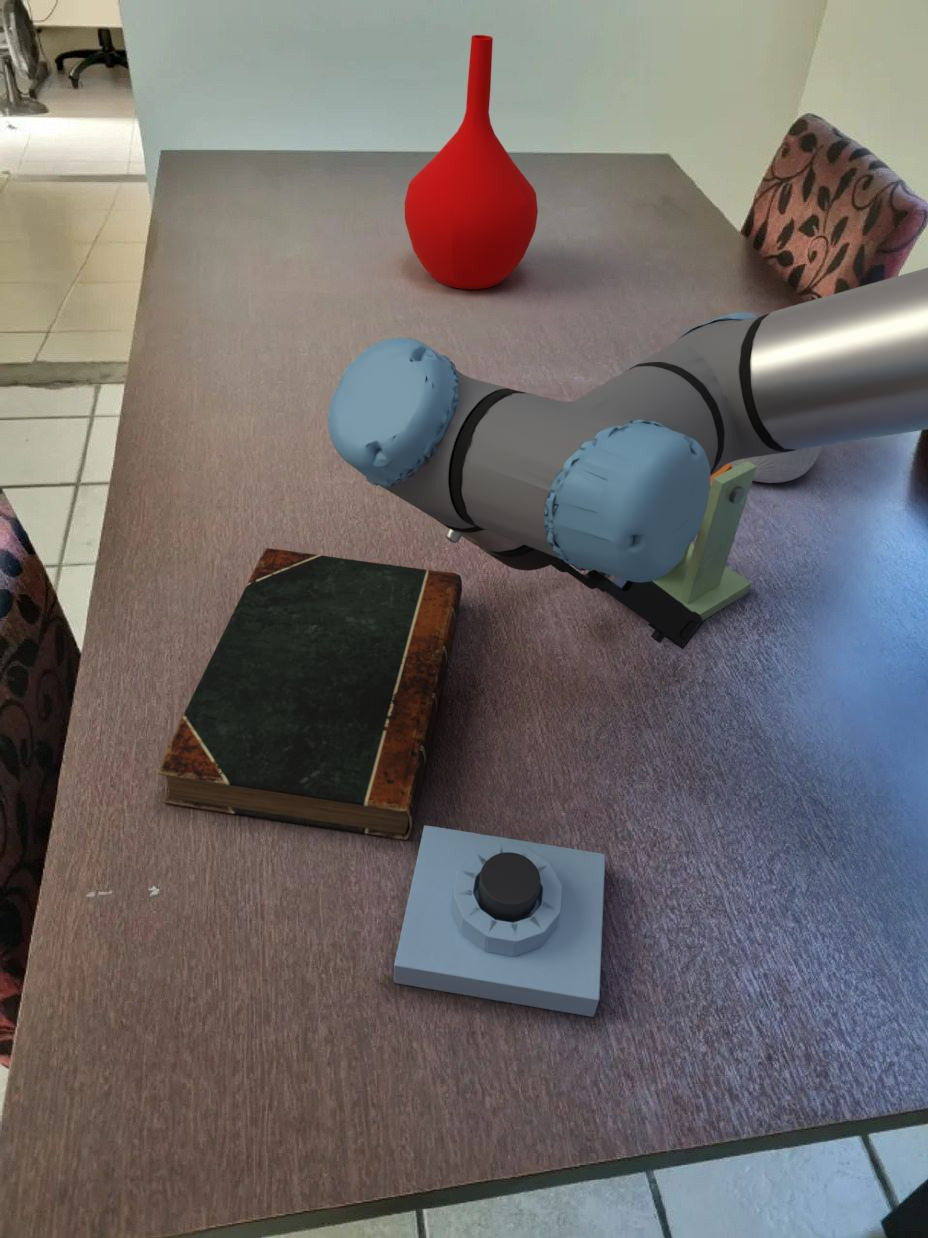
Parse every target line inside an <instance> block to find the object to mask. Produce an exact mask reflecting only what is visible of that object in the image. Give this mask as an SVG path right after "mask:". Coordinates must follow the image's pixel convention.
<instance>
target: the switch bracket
mask: <svg viewBox="0 0 928 1238" xmlns="http://www.w3.org/2000/svg"><path fill="white" fill-rule="evenodd" d="M756 468H757V466H756V465H754V464H752V463H750V462H749V461H746V462H744V463H742V464H740V465H738V466H736V467H734V468H732V469H730V470H728V471H726V472H724V473H722V474H720V475H718V476H716V477H714V478H713V481H712V485H711V488H710V492H709V498H708V504H707V509H706V512H705V515H704V518H703V521H702V524H701V527H700V529H699V531H698V534H697V536H696V538H695V540H694V541H695V542H694V543H693V542H691V543H689V544H688V546H687V547H686V550H685V553H684V556H683V558H682V560H681V561H680V562H679V563H678V564H677V565H676V566H675V567H674V568H673V569H672V570H671V571H670V572H668V573H667V574H666V575H664V576H662V577H661V578H658V579H656V580H653V582H654V583H655V584H657V585H658V586H659V587H661V588H662V589H663V590H665V591H666V592H667V593H669V594H670V595H671V596H672V597H674V598H675V599H676V600H678V601H680V602H681V603H683V604H684V606H686V607H687V608H688V609H689V610H691V611H692V612H694V611H695V612H696V613H698V614H699V615H700V617H701V618H702V620H703V621H705V620H707V619H709V618H710V617H711V616H713V615H715V614H716V613H718V612H719V611H721V610H723V609H724V608H726V607H727V606H730V605H732V603H735V602H736V601H738V600H739V599H741V598H743V597H744V596H745V595H748V594H749V593H750V591H751V590H750V589H751V587H752V585H753V582H752V581H751V580H749V579H747V578H746V577H744V576H742V575H741V574H739V573H738V572H736V571H735V570H733V569H731V568H730V567H729V566H727V562H728V560H729V557H730V554H731V550H732V546H733V543H734V541H735V537H736V534H737V530H738V528H739V525H740V521H741V518H742V515H743V512H744V509H745V506H746V502H747V499H748V497H749V492H750V490H751V486H752V483H753V481H752V480H753V477H754V474H755V471H756Z"/></svg>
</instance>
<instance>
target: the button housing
mask: <svg viewBox="0 0 928 1238" xmlns="http://www.w3.org/2000/svg"><path fill="white" fill-rule="evenodd" d="M505 852H512V853H517V854H520V855H523V856H525V857H526V858H528V859H529V860H531V861H532V862H533V863H534V865H535V866H536V868H537V869H538V871H539V874H540V888H539V893H538V898H537V902H536V905H535V907H534V908H533V910H532V911H531V912H530V913H529V914H527V915H526V916H524V917H522V918H520V919H516V920H504V919H500V918H497V917H495V916H493V915H491V914H490V913H489V912H488V911H487V910H486V909H485V908H484V907H483V905H482V904H481V902H480V899H479V895H478V889H479V881H480V873H481V869H482V867H483V865H484V864H485V862H486V861H487V860H488V859H489V858H491V857H492V856H494V855H496V854H499V853H505ZM605 872H606V854H605V853H603V852H597V851H590V850H584V849H577V848H571V847H564V846H558V845H552V844H545V843H539V842H535V841H534V842H533V841H527V840H520V839H514V838H508V837H502V836H494V835H490V834H483V833H477V832H470V831H464V830H458V829H451V828H445V827H440V826H432V825H426V824H425V825H423V829H422V833H421V838H420V844H419V847H418V853H417V857H416V862H415V866H414V870H413V876H412V880H411V884H410V889H409V894H408V899H407V903H406V908H405V912H404V916H403V921H402V926H401V931H400V935H399V940H398V944H397V945H398V946H397V948H396V954H395V959H394V963H393V983H394V984H399V985H404V986H410V987H416V988H421V989H422V988H423V989H426V990H433V991H439V992H445V993H450V994H451V993H452V994H456V995H463V996H468V997H475V998H480V999H486V1000H490V1001H491V1000H493V1001H497V1002H503V1003H509V1004H515V1005H520V1006H521V1005H522V1006H527V1007H532V1008H539V1009H543V1010H544V1009H545V1010H551V1011H555V1012H562V1013H567V1014H572V1015H580V1016H585V1017H590V1018H591V1017H592V1018H594V1017H595V1014H596V1011H597V1008H598V1005H599V1001H600V993H601V970H602V968H601V967H602V966H601V965H602V949H603V946H602V945H603V944H602V943H603V926H604V925H603V923H604V922H603V921H604V899H605V875H606V874H605Z"/></svg>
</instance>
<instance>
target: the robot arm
mask: <svg viewBox="0 0 928 1238" xmlns="http://www.w3.org/2000/svg"><path fill="white" fill-rule="evenodd" d="M338 383H339V384H338V385H337V386H336V388H335V391H334V393H333V394H332V396H331V397H330V398H331V399H330V403H329V408H328V414H327V424H328V433H329V437H330V440H331V443H332V446H333V447H334V449H335V451H336V452H337V454H338V455H339V456H340V458H341V459H342V460H343V461H344V462H345V463H347V464H348V465H350V466H351V467H352V468H354V469H355V470H356V471H358V473H360V474H361V475H363V476H364V477H365V478H366V481H367V482H368V483H369V484H371V485H375V486H376V487H378V486H379V487H381V488H383V489H385V490H386V491H387V492H389V493H391V494H393V495H394V496H396V497H398V498H399V499H401V500H403V501H405V502H406V503H408V504H409V505H411V506H413V507H415V508H416V509H418V510H420V511H421V512H423V513H424V514H426V515H427V516H429V517H430V518H433V519H434V520H436V521H437V522H438V523H440V525H441V524H442V526H444V527H446V528H448V529H447V530H446V532H445V534H444V536H445V538H446V539H447V540H448V541H449V542H451V543H453V544H456V543H458V542H459V540H461V538H462V537H463V538H464V539H465V540H467V541H468V542H470V543H471V544H473V545H475V546H476V547H478V548H479V549H480V550H481V551H482V552H484V553H486V554H487V555H489V556H490V557H492V558H493V559H495V560H497V561H498V562H500V563H502V564H503V565H504V566H507V567H508V568H511V569H513V570H519V571H537V570H541V569H544V568H547V567H549V566H551V567H553V568H554V569H556V570H557V571H559V572H560V573H567V574H569V575H570V576H571V577H573V578H574V579H576V580H577V581H578V582H580V583H581V584H582V585H584V586H585V587H587V588H588V589H590V590H596V589H597V590H599V591H600V592H602V593H607V594H609V595H610V596H611V597H612V598H614V599H615V600H617V601H618V602H620V603H621V604H622V605H623V606H625V607H627V609H629V610H631V611H632V612H633V613H635V614H636V615H637V616H639V617H640V618H642V619H643V620H644V621H646V622H647V623H648V626H649V627H650V628H652V629H653V630H654V631H653V632H652V633H651V635H650V638H651V639H653V640H654V641H656V642H657V643H659V644H661V643H662V642H663V641H664V639H665V638H666V639H667V640H668V641H670V642H671V643H672V644H674V645H675V646H677V647H679V648H680V649H681V650H685V648H686V646H687V645H688V643H690V641H691V640H692V639H693V637H695V635H696V633H697V632H698V630H699V629H700V628H701V627H702V626H703V624H704V620H702V618H701V617H700V615H699V614H698V613H696V612H695V611H694V612H692V611H691V610H689V609H688V608H687V607H686V606H684V604H683V603H681V602H680V601H678V600H676V599H675V598H674V597H672V596H671V595H670V594H669V593H667V592H666V591H665V590H663V589H662V588H661V587H659V586H658V585H657V584H655V583H654V582H653V580H656V579H658V578H661V577H662V576H664V575H666V574H667V573H668V572H670V571H671V570H672V569H673V568H674V567H675V566H676V565H677V564H678V563H679V562H680V561H681V560H682V558H683V556H684V553H685V550H686V547H687V546H688V544H689V543H693V542H694V541H696V538H697V534H698V531H699V529H700V527H701V524H702V521H703V518H704V515H705V512H706V509H707V504H708V498H709V491H710V476H712V475H713V474H714V473H716V472H717V471H718V470H720V469H721V468H722V467H724V466H725V465H726V464H728V463H731V462H733V461H736V460H740V459H746V458H752V457H758V456H765V455H771V454H778V453H784V452H790V451H795V450H798V449H804V448H810V447H817V446H823V445H824V446H829V445H836V444H841V443H848V442H849V443H850V442H853V441H854V442H856V441H861V440H867V439H868V440H869V439H874V438H875V439H876V438H882V437H887V436H894V435H900V434H905V433H912V432H918V431H919V432H920V431H926V430H928V267H925V268H921V269H917V270H914V271H910V272H907V273H904V274H900V275H897V276H893V277H889V278H885V279H882V280H879V281H875V282H872V283H868V284H865V285H861V286H857V287H854V288H851V289H847V290H844V291H841V292H837V293H833V294H830V295H825V296H823V297H818V298H816V299H815V298H814V299H812V300H809V301H805V302H801V303H798V304H795V305H791V306H787V307H784V308H780V309H777V310H774V311H771V312H770V313H766V314H762V315H759V314H757V313H752V312H751V313H749V312H733V313H729V314H725V315H722V316H720V317H718V318H715V319H712V320H709V321H705V322H704V323H701V324H699V325H696V326H693V327H692V328H690V329H688V330H686V331H685V332H684V333H683V334H681V336H680V337H678V338H677V339H675V340H674V341H673V342H671V343H670V344H668V345H666V346H665V347H663V348H662V349H659V350H658V351H657V352H655V353H653V354H652V355H650V356H648V357H646V358H645V359H643V360H642V361H640V362H638V363H636V364H635V365H633V366H631V367H630V368H628V369H626V370H625V371H623V372H621V373H620V374H618V375H616V376H615V377H613V378H611V379H610V380H607V381H605V382H604V383H602V384H601V385H598V386H597V387H595V388H593V389H592V390H590V391H588V392H587V393H585V394H584V395H582V396H580V397H579V398H577V399H575V400H572V401H561V400H558V399H555V398H550V397H545V396H541V395H538V394H534V393H530V392H525V391H521V390H517V389H512V388H509V387H506V386H503V385H498V384H494V383H490V382H486V381H483V380H479V379H476V378H472V377H470V376H467V375H465V374H463V373H462V372H461V371H459V370H458V369H457V367H456V365H455V363H454V362H453V361H452V360H451V359H450V358H449V357H448V356H446V355H445V354H440V353H439V352H437V351H436V350H434V349H433V348H432V347H430V346H428V345H427V344H426V343H424V342H423V341H420V340H417V339H415V338H414V339H413V338H409V337H395V338H393V337H392V338H389V339H385V340H383V341H380V342H377V343H375V344H373V345H371V346H370V347H368V348H367V349H365V350H363V351H362V352H361V353H359V355H358V356H357V357H356V358H354V359H353V361H351V362H350V363H349V365H348V366H347V368H346V369H345V370H344V372H343V373H342V374H341V375H340V381H339V382H338ZM824 446H823V447H824ZM584 571H588V572H587V573H585V574H583V573H581V572H584Z"/></svg>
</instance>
